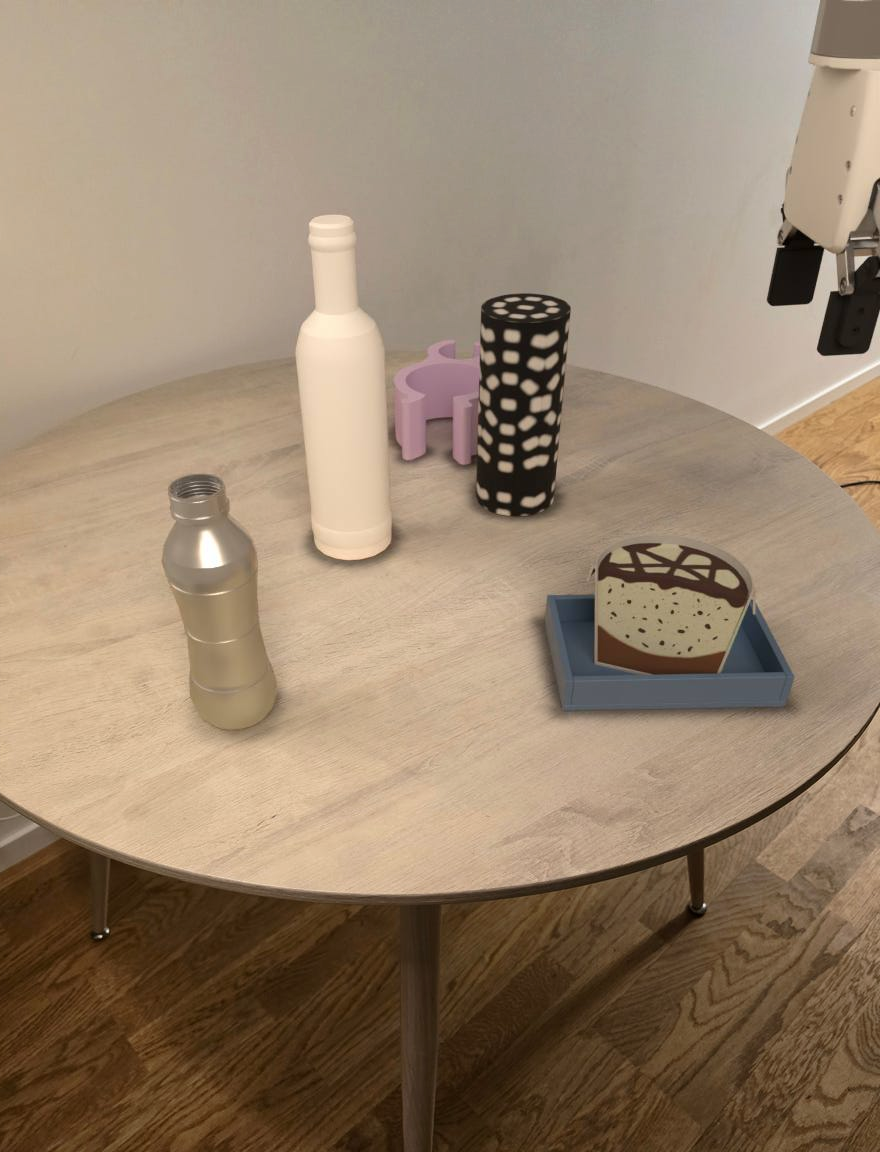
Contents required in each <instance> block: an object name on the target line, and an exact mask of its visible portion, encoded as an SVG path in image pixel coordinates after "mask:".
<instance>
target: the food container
mask: <svg viewBox="0 0 880 1152" xmlns="http://www.w3.org/2000/svg"><path fill="white" fill-rule="evenodd" d="M593 575H594V594H595V652H594V664H595V665H600V666H604V667H608V668H612V669H617V670H621V671H625V672H630V673H634V674H638V675H663V674H713V673H721V671H722V668H723V666H724V663H725V661H726V659H727V656H728V654H729V651H730V649H731V647H732V644H733V642H734V639H735V637H736V634H737V632H738V630H739V627H740V625H741V622H742V620H743V618H744V615H745V613H746V610H747V608H748V606H749V603H750V601H752V605H753V614H755V605H756V604H757V602H756V599H757V597H756V595H757V594H756V593H757V590H756V587H755V583H754V579H753V575H752V574H751V572H750V569H748V566H746V565H745V564H744V562H742V561H741V560H740V559H739V558H738V557H737V556H735V555H734V554H733V553H731V552H730V551H728V550H726V549H724V548H722V547H720V546H719V545H716V544H714V543H712V542H709V541H706V540H702V539H700V538H695V537H692V536H687V535H680V534H674V533H670V534H669V533H645V534H637V535H632V536H629V537H625V538H622V539H618V540H617V541H615V542H612V543H611V544H609V545H607V546H606V547H605V548H604V549H602V551H601V552H600V553H599V554H598V556H597V557H596V559H595V560H594V561H593V563H592V565H591V567H590V570H589V573H588V575H587V577H586V581H587V582H589V581H590V579H591V577H592V576H593Z"/></svg>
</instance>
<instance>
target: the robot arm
mask: <svg viewBox="0 0 880 1152" xmlns="http://www.w3.org/2000/svg"><path fill="white" fill-rule="evenodd" d="M807 63H808V65H809V64H810V65H812V66H815V67H814V71H813V75H812V78H811V81H810V85H809V88H808V91H807V96H806V98H805V102H804V106H803V111H802V113H801V118H800V121H799V126H798V130H797V134H796V139H795V142H794V147H793V151H792V156H791V160H790V165H789V167H788V169H787V170H786V174H785V188H784V189H785V193H784V198H783V199H784V201H783V203H782V204H781V208H780V213H781V217H782V224H781V226H780V228H779V229H778V231H777V234H776V235H777V236H776V243H777V245H778V247H776V251H775V256H774V261H773V266H772V271H771V276H770V281H769V286H768V290H767V291H768V292H767V296H766V302H767V304H768V305H769V306H770V307H783V306H801V305H809V304H811V302H812V301H813V299H814V296H815V291H816V288H817V287H816V286H817V283H818V278H819V276H820V275H819V274H820V270H821V265H822V261H823V257H824V253H825V250H826V251H827V252H829V253H831V254H833V255H835V260H836V261H835V262H836V276H837V290H830V293H829V296H828V300H827V304H826V307H825V312H824V317H823V322H822V325H821V329H820V333H819V337H818V342H817V346H816V352H818V354H819V355H820V356H822V357H831V356H832V357H833V356H849V355H863V354H866V353H867V352H868V351H869V350H870V347H871V344H872V340H873V337H874V334H875V330H876V326H877V323H878V319H879V315H880V0H819V5H818V10H817V15H816V20H815V25H814V30H813V36H812V40H811V45H810V51H809V55H808V59H807ZM858 238H859V239H858ZM855 257H867V258H865V259H864V261H863V262H862V263H861V264H859V266H858V267H857V268H856V264H855V263H856V262H855Z"/></svg>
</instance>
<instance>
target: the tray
mask: <svg viewBox="0 0 880 1152" xmlns="http://www.w3.org/2000/svg"><path fill="white" fill-rule="evenodd" d="M545 604H546V605H545V616H544V627H545V632H546V638H547V642H548V647H549V651H550V657H551V662H552V666H553V671H554V676H555V680H556V685H557V691H558V694H559V700H560V705H561V710H562V712H569V711H570V712H571V711H572V712H573V711H575V712H576V711H622V710H623V711H627V710H675V709H676V710H678V709H680V710H681V709H727V708H728V709H729V708H731V709H732V708H733V709H734V708H736V709H737V708H774V707H775V708H783V707H786V704H787V702H788V699H789V696H790V693H791V689H792V686H793V683H794V680H795V678H796V677H795V674H794V673H793V671H792V668H791V667H790V665H789V662H788V661H787V659H786V657H785V655H784V653H783V652H782V650H781V648H780V646H779V644H778V642H777V641H776V638H775V636H774V635H773V632H772V631H771V629H770V627H769V624H768V623H767V621H766V619H765V617H764V615H763V614H762V611H761V610H760V608H759V606H758V604H757V603H756V605H755V614H753V605H752V601H750V603H749V606H748V608H747V610H746V613H745V615H744V618H743V620H742V622H741V625H740V627H739V630H738V632H737V634H736V637H735V639H734V642H733V644H732V647H731V649H730V651H729V654H728V656H727V659H726V661H725V663H724V666H723V668H722V671H721V673H713V674H663V675H638V674H634V673H630V672H625V671H621V670H617V669H612V668H608V667H604V666H600V665H595V664H594V652H595V593H591V594H589V593H588V594H587V593H586V594H583V593H581V594H547V596H546V603H545Z"/></svg>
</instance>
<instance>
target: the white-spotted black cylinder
mask: <svg viewBox="0 0 880 1152" xmlns="http://www.w3.org/2000/svg"><path fill="white" fill-rule="evenodd" d="M571 309H572V307H571V305H570V304H569V302H567V301H566V300H564V299H562V298H559V297H556V296H553V295H547V294H541V293H531V292H529V293H528V292H525V293H524V292H520V293H510V294H502V295H498V296H494V297H491V298H489V299H487V300H485V301H484V302H482V304H481V306H480V334H479V335H480V336H479V341H480V367H479V403H478V439H477V454H476V477H475V478H476V479H475V480H476V481H475V499H476V502H477V503H478V504H479V505H480V507H482V508H483V509H485V510H487V511H489V512H491V513H494V514H497V515H502V516H508V517H524V516H525V517H527V516H533V515H537V514H539V513H542V512H543V511H546V510H548V509H549V508H550V507H551V505H552V504H553V503H554V500H555V490H556V481H557V480H556V479H557V468H558V457H559V445H560V434H561V426H562V425H561V423H562V412H563V402H564V401H563V400H564V391H565V378H566V369H567V368H566V367H567V356H568V344H569V333H570V323H571V313H572V310H571Z"/></svg>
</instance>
